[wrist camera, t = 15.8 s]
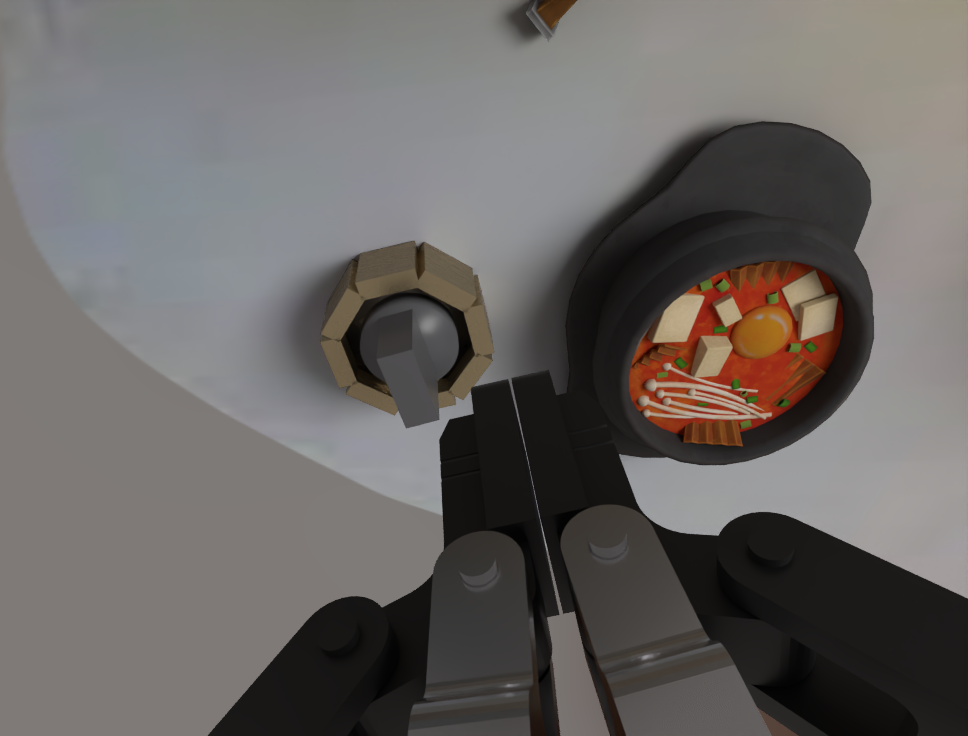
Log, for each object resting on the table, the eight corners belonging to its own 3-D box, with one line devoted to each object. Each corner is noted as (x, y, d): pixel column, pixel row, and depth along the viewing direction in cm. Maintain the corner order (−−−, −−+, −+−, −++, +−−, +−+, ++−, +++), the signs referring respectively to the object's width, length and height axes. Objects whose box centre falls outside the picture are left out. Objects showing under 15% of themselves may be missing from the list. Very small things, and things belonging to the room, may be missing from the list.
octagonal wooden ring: (465, 228, 41) (470, 255, 38) (498, 359, 47) (504, 393, 44) (309, 265, 42) (300, 295, 39) (360, 391, 47) (355, 427, 44)
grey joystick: (441, 281, 40) (445, 332, 36) (468, 360, 44) (475, 417, 39) (347, 307, 41) (337, 361, 36) (380, 384, 44) (376, 443, 39)
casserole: (715, 462, 54) (759, 543, 48) (502, 410, 50) (516, 490, 43) (923, 173, 42) (1024, 224, 35) (666, 64, 37) (724, 98, 30)
